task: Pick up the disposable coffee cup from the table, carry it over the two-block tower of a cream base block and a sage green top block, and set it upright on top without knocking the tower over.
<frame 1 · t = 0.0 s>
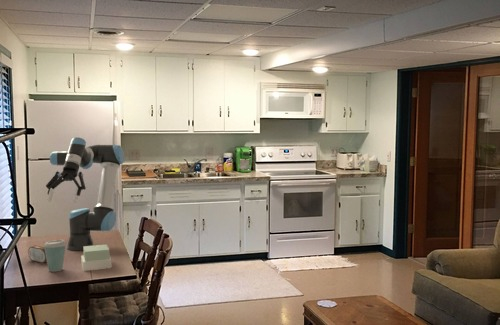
hand: (61, 201, 257), 36 cm above the table, tool tilted 35°, fingers open, 13 cm apart
disposable coffee cup: (55, 270, 263), on the table
tin: (38, 262, 278), on the table
base block: (96, 266, 270), on the table, touching top block
top block: (96, 257, 270), point 4 cm above the table, touching base block
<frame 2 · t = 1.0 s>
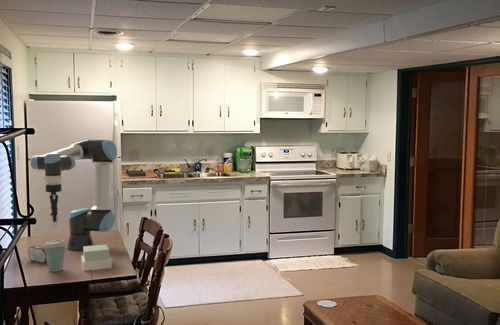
hand: (54, 225, 261), 23 cm above the table, tool pointing down, fingers open, 13 cm apart
nothing on the table moved.
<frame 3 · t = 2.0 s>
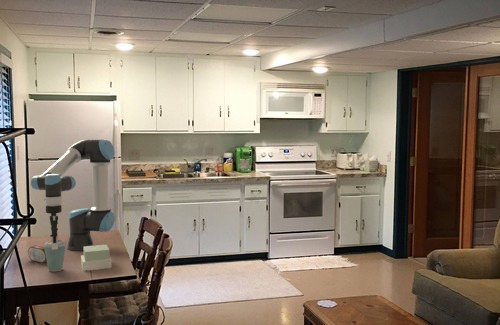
hand: (54, 246, 261), 12 cm above the table, tool pointing down, fingers open, 13 cm apart
nothing on the table moved.
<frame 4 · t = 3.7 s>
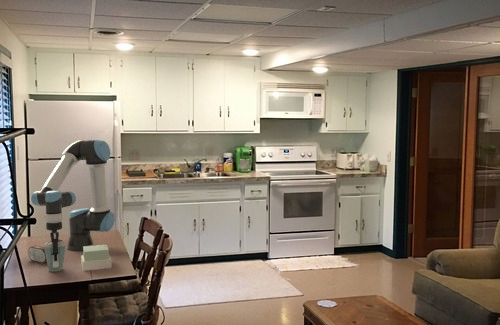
hand: (55, 264, 263), 3 cm above the table, tool pointing down, fingers closed on disposable coffee cup, 11 cm apart
disposable coffee cup: (55, 270, 263), on the table, touching gripper
base block: (96, 266, 270), on the table
top block: (95, 257, 270), point 4 cm above the table
everything else where it was.
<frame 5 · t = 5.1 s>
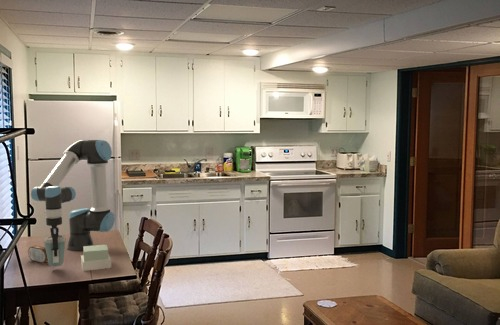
hand: (55, 259, 263), 5 cm above the table, tool pointing down, fingers closed on disposable coffee cup, 11 cm apart
disposable coffee cup: (55, 265, 263), point 2 cm above the table, touching gripper
base block: (96, 266, 270), on the table, touching top block
top block: (95, 257, 270), point 4 cm above the table, touching base block
everything else where it was.
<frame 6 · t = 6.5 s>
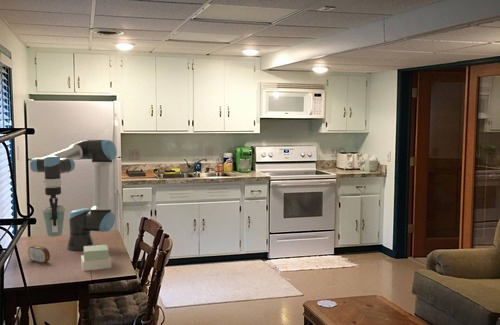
hand: (54, 229, 261), 21 cm above the table, tool pointing down, fingers closed on disposable coffee cup, 11 cm apart
disposable coffee cup: (54, 235, 262), point 18 cm above the table, touching gripper
everything else where it was.
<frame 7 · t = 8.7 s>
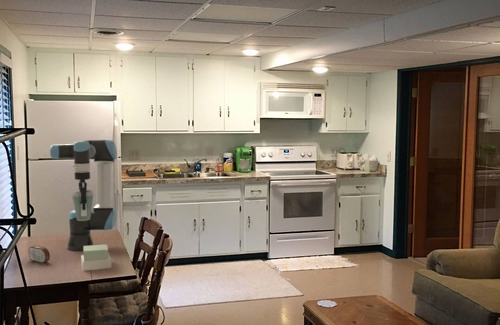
hand: (83, 214, 266), 28 cm above the table, tool pointing down, fingers closed on disposable coffee cup, 11 cm apart
disposable coffee cup: (83, 220, 266), point 25 cm above the table, touching gripper
everything else where it was.
when the fingers open (14 cm above the table, at t = 13.5 s): disposable coffee cup stays where it is, point 10 cm above the table.
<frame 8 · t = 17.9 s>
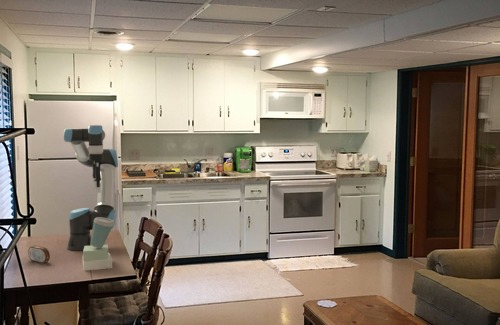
hand: (96, 191, 286), 37 cm above the table, tool pointing down, fingers open, 13 cm apart
disposable coffee cup: (96, 246, 270), point 10 cm above the table
everything else where it was.
at the end: disposable coffee cup 0.2 cm off-centre on the top block, point 5.4 cm above the top block's base; disposable coffee cup tilted 11°; top block 0.8 cm off-centre on the base block, point 5.0 cm above the base block's base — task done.
